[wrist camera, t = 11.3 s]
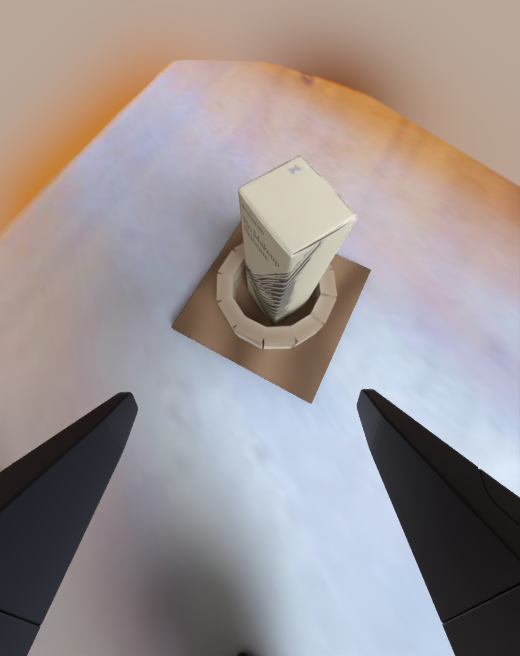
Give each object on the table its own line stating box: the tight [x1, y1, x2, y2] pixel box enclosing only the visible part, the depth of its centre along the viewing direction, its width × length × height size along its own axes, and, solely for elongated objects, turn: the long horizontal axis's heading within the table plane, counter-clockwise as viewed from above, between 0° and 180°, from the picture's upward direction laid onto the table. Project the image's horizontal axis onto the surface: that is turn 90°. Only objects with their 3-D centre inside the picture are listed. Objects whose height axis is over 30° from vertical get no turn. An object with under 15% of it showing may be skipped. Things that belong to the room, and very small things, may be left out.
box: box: [238, 155, 358, 326], centre depth 17 cm, size 5×4×13 cm
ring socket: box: [171, 222, 371, 404], centre depth 22 cm, size 16×16×4 cm
